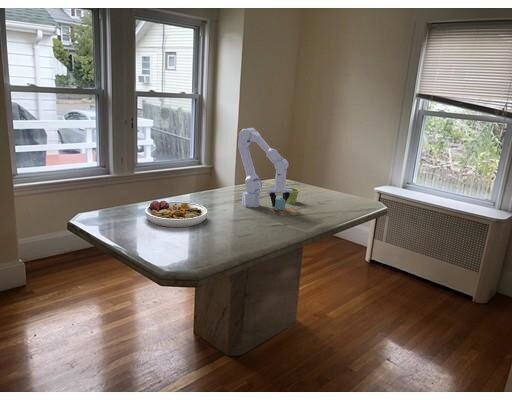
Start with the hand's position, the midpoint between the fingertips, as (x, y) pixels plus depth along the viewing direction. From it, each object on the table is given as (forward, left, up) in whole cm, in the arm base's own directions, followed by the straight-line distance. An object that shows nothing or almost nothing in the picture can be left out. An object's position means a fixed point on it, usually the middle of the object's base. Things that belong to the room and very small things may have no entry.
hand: (278, 205), depth 231 cm
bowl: (-56, -4, -4) cm, 56 cm away
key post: (0, 0, -2) cm, 2 cm away
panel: (+4, -3, -4) cm, 6 cm away
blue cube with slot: (0, 0, -1) cm, 1 cm away
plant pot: (+14, +15, -4) cm, 21 cm away
